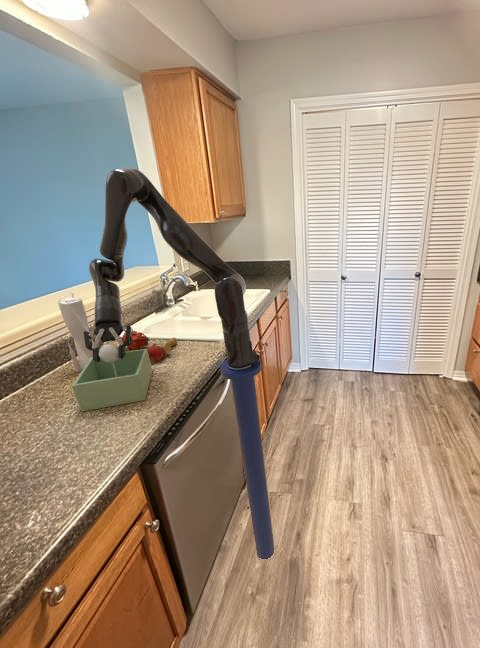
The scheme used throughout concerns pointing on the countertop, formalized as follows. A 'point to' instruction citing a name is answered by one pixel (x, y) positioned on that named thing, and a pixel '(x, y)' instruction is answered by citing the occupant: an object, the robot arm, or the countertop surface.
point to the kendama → (160, 349)
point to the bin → (113, 381)
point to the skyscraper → (76, 329)
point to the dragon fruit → (137, 340)
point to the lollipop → (109, 354)
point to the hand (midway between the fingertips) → (109, 359)
